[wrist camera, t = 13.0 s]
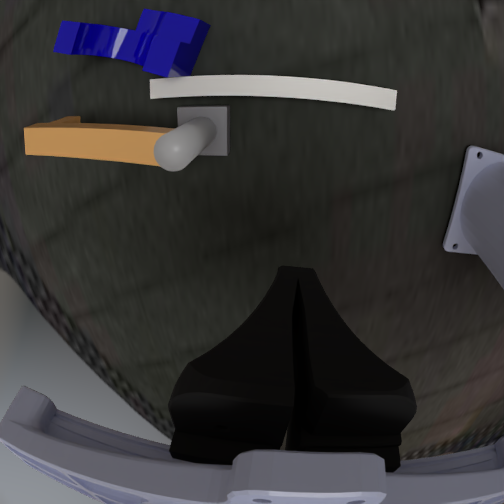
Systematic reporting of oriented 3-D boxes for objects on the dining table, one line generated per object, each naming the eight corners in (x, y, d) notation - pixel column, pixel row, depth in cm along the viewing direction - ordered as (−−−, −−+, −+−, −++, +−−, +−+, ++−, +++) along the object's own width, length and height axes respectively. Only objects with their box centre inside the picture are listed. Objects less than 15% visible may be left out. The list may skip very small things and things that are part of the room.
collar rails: (390, -56, 11) (397, -64, 9) (380, 164, 19) (386, 171, 17) (163, -61, 12) (155, -68, 11) (162, 151, 20) (153, 157, 19)
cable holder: (211, 25, 15) (191, 15, 12) (191, 75, 17) (167, 77, 14) (104, 4, 15) (70, -3, 11) (89, 50, 16) (53, 51, 13)
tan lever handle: (218, 118, 17) (192, 135, 13) (214, 147, 18) (189, 173, 14) (71, 110, 18) (21, 127, 13) (71, 135, 19) (23, 157, 14)
